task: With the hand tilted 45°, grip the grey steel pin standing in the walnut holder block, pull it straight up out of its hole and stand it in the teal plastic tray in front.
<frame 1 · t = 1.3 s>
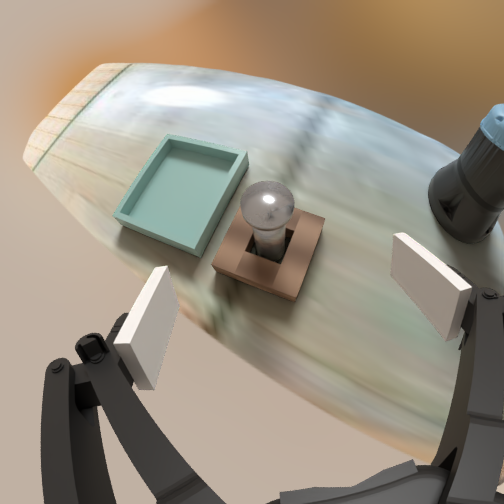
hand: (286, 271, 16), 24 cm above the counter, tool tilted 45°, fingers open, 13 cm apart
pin: (269, 229, 36), in the holder
holder: (270, 248, 42), on the counter
tray: (183, 193, 46), on the counter
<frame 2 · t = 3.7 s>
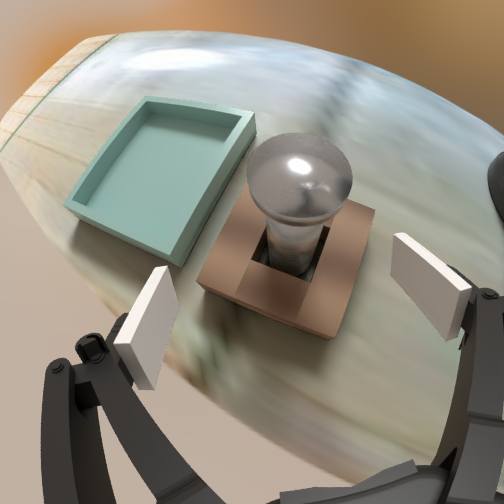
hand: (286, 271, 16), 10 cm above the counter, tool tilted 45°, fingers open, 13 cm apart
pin: (294, 224, 20), in the holder
holder: (290, 255, 27), on the counter
tray: (162, 173, 31), on the counter
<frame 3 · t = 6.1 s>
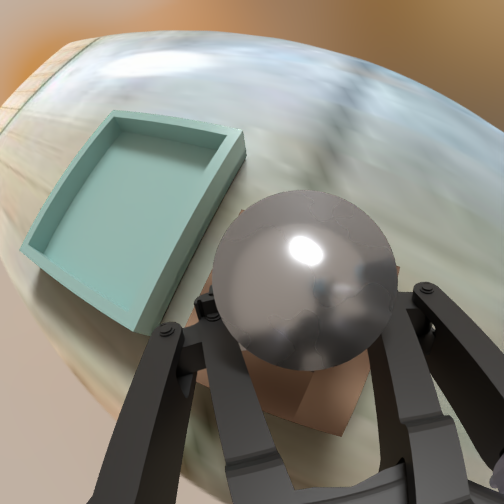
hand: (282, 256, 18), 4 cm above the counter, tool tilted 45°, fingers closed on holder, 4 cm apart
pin: (294, 310, 14), in the holder
holder: (288, 325, 20), on the counter
tray: (130, 209, 25), on the counter
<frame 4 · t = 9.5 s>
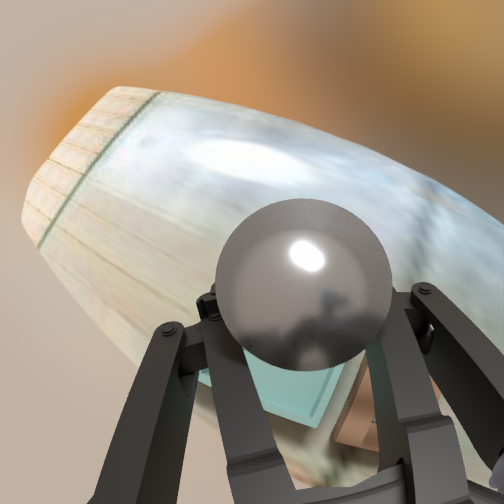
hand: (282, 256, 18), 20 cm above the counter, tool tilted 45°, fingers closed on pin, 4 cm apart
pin: (293, 312, 15), point 22 cm above the counter, touching gripper
holder: (387, 405, 30), on the counter
tray: (282, 337, 35), on the counter
when the fingers open (7 cm above the counter, at t = 12.3 s): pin stays where it is, resting on tray.
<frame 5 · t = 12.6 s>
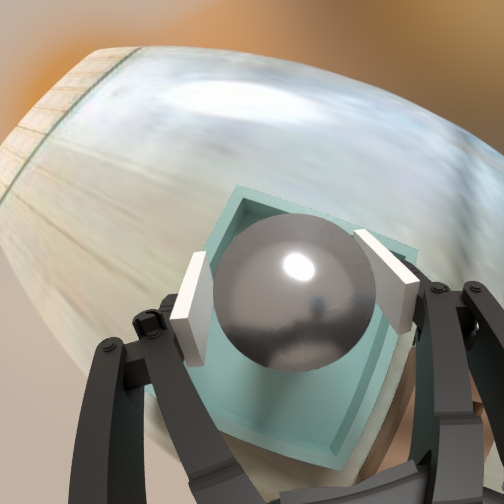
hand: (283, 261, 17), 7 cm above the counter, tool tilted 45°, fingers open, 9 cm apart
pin: (290, 316, 15), in the tray, point 8 cm above the counter
holder: (439, 424, 18), on the counter
tray: (287, 328, 23), on the counter
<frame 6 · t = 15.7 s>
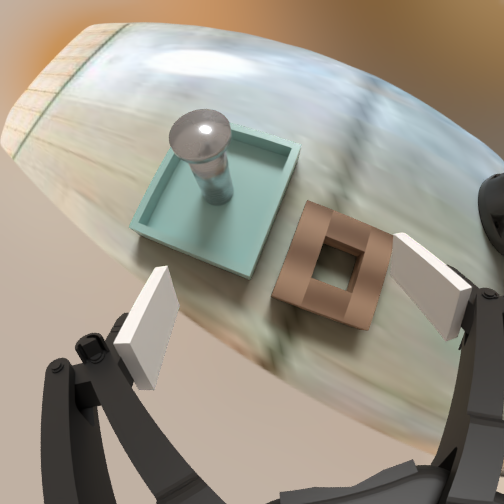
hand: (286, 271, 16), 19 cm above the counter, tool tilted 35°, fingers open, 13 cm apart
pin: (210, 166, 30), in the tray, point 8 cm above the counter
holder: (332, 268, 35), on the counter
tray: (219, 193, 37), on the counter
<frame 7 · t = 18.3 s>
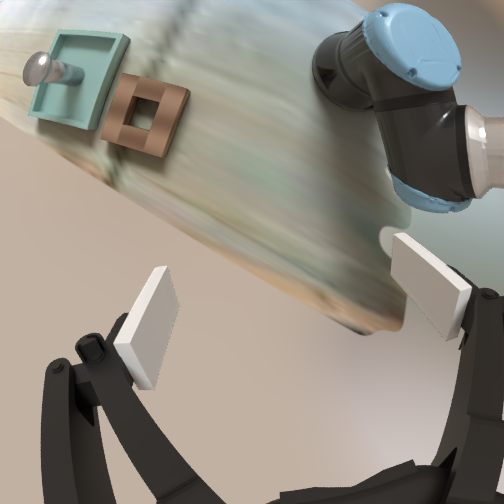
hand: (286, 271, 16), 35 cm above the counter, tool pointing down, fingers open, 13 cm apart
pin: (57, 72, 31), in the tray, point 8 cm above the counter
holder: (146, 114, 42), on the counter
tray: (78, 77, 38), on the counter
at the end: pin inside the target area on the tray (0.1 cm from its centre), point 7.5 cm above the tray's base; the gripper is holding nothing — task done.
